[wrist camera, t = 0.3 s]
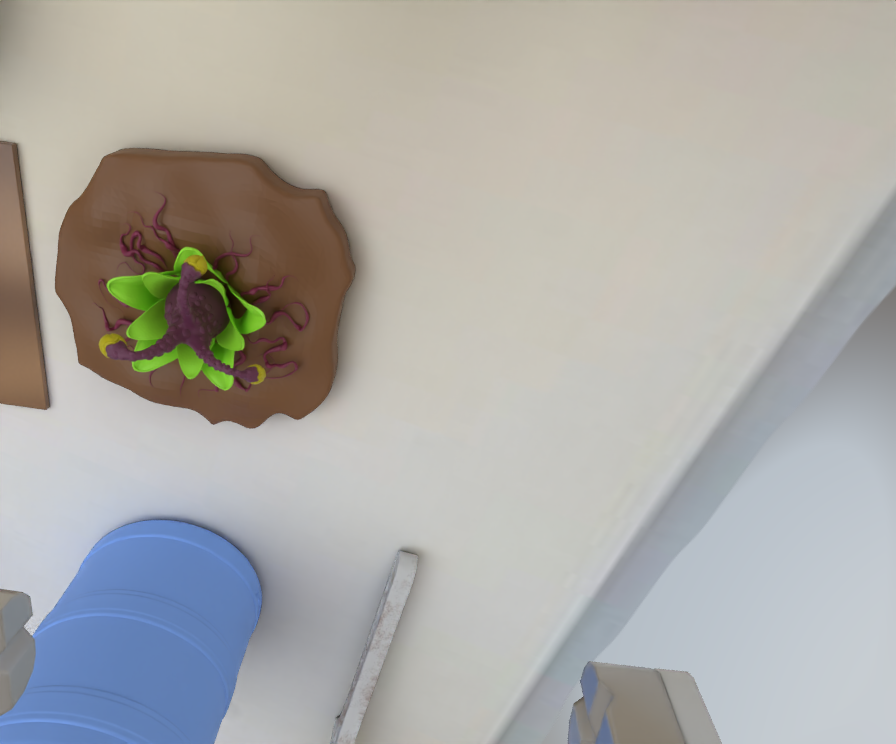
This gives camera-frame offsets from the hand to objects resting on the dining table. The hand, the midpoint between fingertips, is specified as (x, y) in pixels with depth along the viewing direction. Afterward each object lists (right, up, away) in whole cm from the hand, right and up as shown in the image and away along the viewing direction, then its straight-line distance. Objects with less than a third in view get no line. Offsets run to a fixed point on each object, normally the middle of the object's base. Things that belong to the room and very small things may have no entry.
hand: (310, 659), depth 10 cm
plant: (-15, +10, +39) cm, 43 cm away
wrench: (-6, -23, +56) cm, 61 cm away
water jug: (-22, -15, +52) cm, 58 cm away
